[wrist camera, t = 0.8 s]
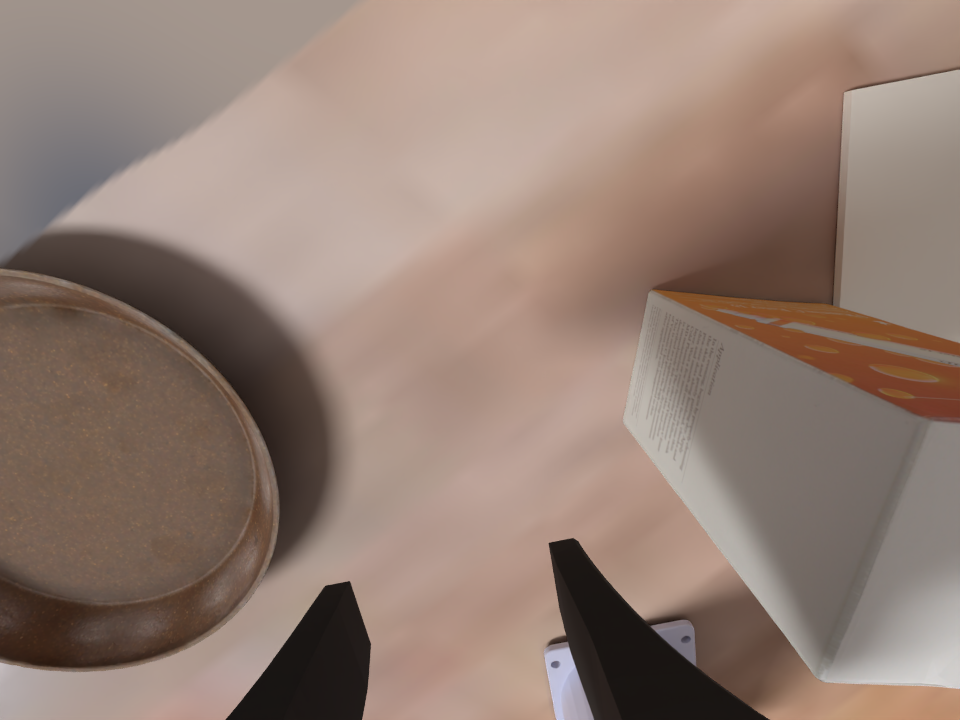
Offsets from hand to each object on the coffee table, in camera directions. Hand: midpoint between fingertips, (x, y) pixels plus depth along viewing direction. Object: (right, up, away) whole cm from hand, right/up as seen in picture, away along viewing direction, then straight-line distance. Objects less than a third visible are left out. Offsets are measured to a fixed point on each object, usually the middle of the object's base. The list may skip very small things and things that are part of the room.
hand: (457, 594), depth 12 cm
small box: (+11, +6, +10) cm, 16 cm away
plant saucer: (-17, +1, +10) cm, 19 cm away
